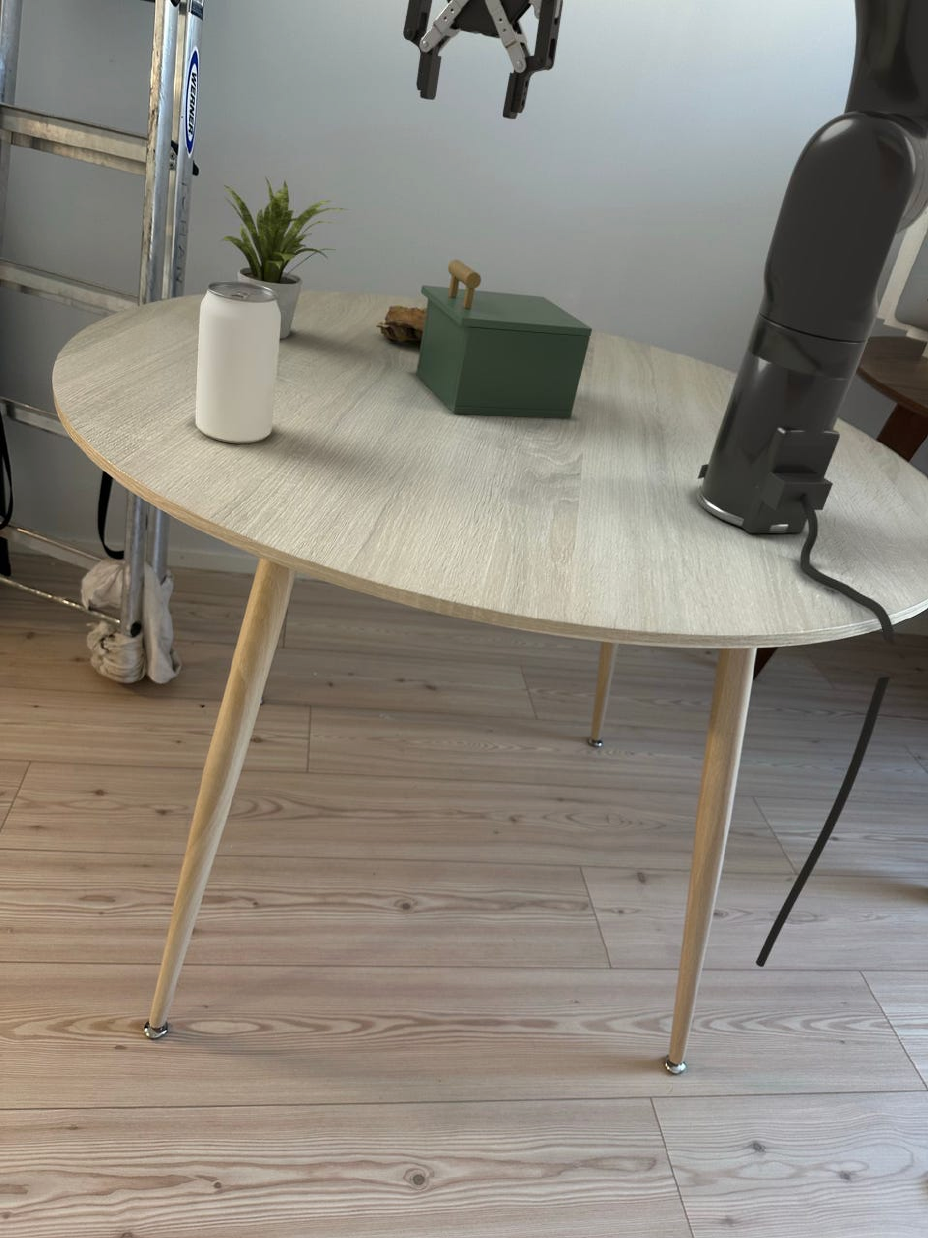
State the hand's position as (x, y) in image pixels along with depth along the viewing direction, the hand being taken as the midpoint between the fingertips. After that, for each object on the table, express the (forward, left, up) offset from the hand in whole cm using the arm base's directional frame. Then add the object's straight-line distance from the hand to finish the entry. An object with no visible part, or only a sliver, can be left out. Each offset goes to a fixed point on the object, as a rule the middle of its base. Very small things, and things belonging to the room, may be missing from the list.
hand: (468, 108), depth 93 cm
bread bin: (-3, -7, -27) cm, 28 cm away
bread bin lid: (-3, -6, -18) cm, 19 cm away
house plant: (+14, +13, -27) cm, 33 cm away
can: (-15, +23, -27) cm, 39 cm away
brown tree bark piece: (+15, -7, -27) cm, 31 cm away
